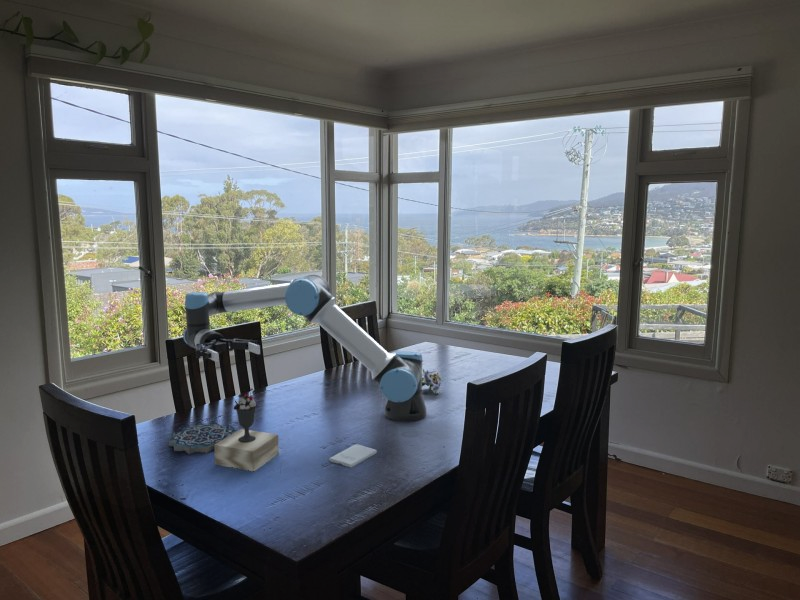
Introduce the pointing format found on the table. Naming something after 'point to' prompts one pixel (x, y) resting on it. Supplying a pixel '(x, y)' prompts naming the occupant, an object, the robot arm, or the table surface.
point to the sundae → (246, 415)
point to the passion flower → (431, 381)
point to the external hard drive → (353, 455)
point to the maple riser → (246, 450)
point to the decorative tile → (199, 437)
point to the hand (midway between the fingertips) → (238, 353)
